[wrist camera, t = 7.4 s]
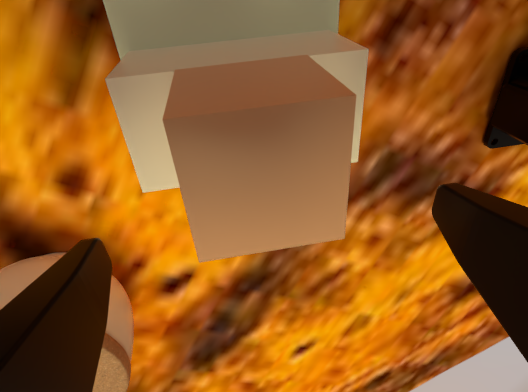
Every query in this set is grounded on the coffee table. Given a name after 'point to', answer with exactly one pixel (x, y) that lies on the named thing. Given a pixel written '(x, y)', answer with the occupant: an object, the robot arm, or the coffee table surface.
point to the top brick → (261, 154)
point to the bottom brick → (207, 54)
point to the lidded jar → (117, 330)
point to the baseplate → (213, 20)
